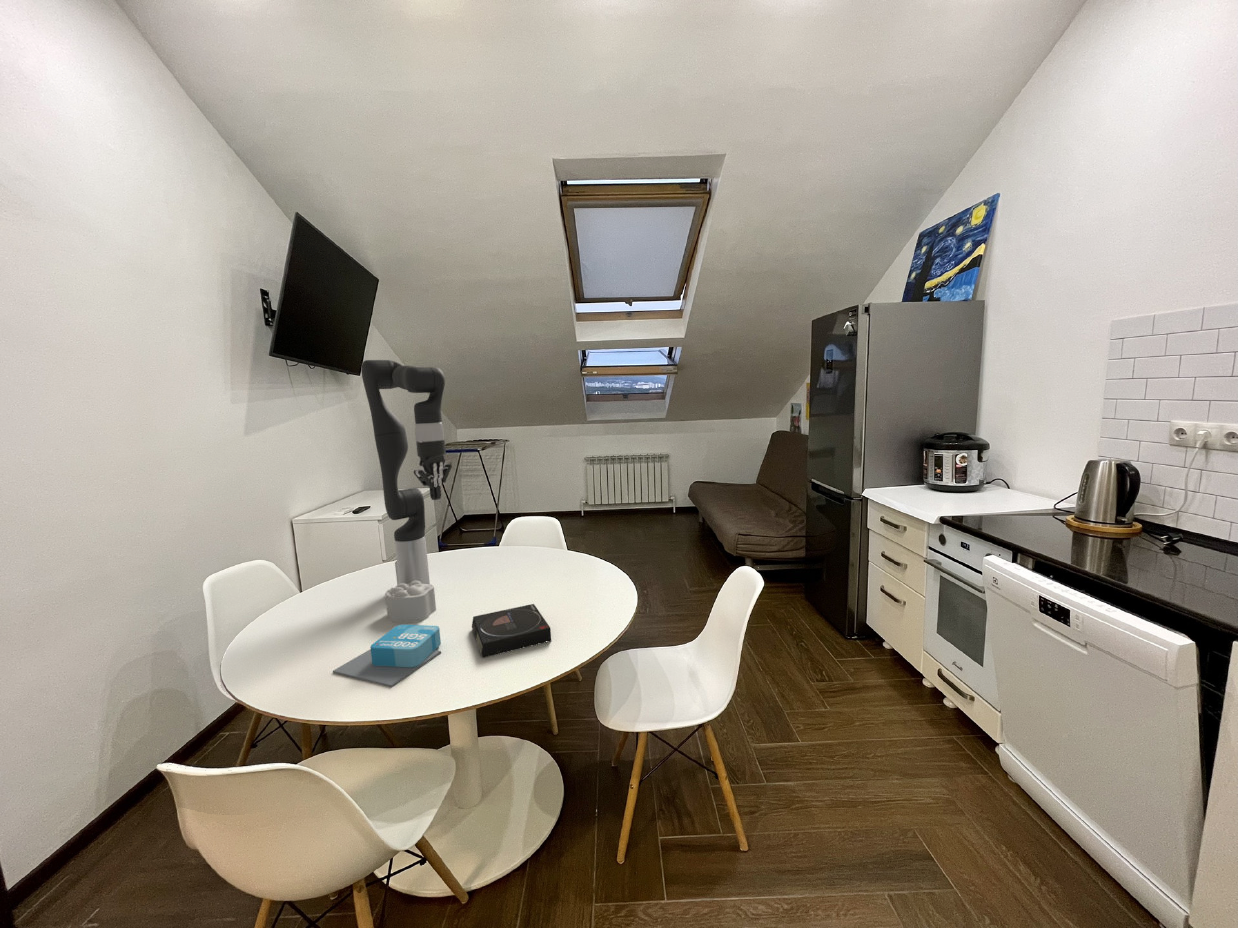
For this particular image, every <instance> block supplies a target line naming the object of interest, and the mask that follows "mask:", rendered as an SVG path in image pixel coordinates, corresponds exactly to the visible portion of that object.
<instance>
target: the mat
mask: <svg viewBox="0 0 1238 928" xmlns="http://www.w3.org/2000/svg"><path fill="white" fill-rule="evenodd" d="M441 654H442V651H441V650H437V649H436V650H435V651H433V652H432V653H431V654H430V655H429V656H428V657H427V658H426V659H425V660H424V661H423V662H422V663H421V664H420V665H419V666H416V667H412V668H408V667H389V666H374V665H373V664H372V656H371V648H369V649H368V650H366V651H365V652H362V653H361V654H360V655H358V656H356V657H354V658H352V659H351V660H349V661H348V662H346V663H343V664H342V665H340V666H339V667H337V668H335V669H334V670H333V671H332V673H333V674H337V675H340V676H344V677H345V676H346V677H349V678H353V679H355V680H361V681H365V682H369V683H373V684H377V685H381V686H385V687H389V688H393V687H395V686H396V685H397V684H399V683H400V682H401V681H403V680H405V679H406V678H407V677H409V676H410V675H412V674H413V673H415V672H416V671H417V670H420V668H422V667H423V666H425V665H427V664H428V663H429V662H430V661H432V660H434V658H436V657H438V656H439V655H441Z"/></svg>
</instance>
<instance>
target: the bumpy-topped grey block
mask: <svg viewBox="0 0 1238 928" xmlns="http://www.w3.org/2000/svg"><path fill="white" fill-rule="evenodd" d="M435 594H436V593H435V586H434V585H432V584H421V582H420V581H413V582H411V583H410V584H404V583H401V584H398V585H397V584H396V586H395V587H391V588H389V589H387V590H386V591H385V593H384V597H385V605H386V613H387V619H388V620H389V621H392V622H394V623H417V622H421V621H424V620H425V621H426V620H427V619H428V618H429V617H430V616H431V615H432V614H433V613H435V612H436V611H437V606H436V605H437V603H436V595H435Z"/></svg>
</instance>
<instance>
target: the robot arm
mask: <svg viewBox="0 0 1238 928" xmlns="http://www.w3.org/2000/svg"><path fill="white" fill-rule="evenodd" d="M360 368H361V379H362V382H363V387H364V389H365V395H366V397H367V402H368V405H369V410H370V411H369V412H370V416H371V422H372V427H373V434H374V436H373V437H374V441H375V445H376V450H377V455H378V460H379V465H380V472H381V480H382V491H383V500H384V507H385V511H386V514H387V516H388V518H389V519H390V520H392V521H399V520H403V519H407V518H408V519H407V521H406V522H405V523H404V524H403V525H401V526H399V527H398V528H397V529H395V530H394V532H393V533H394V534H393V537H394V547H395V555H396V561H394V566H395V567H394V568H395V575H396V576H395V578H396V586H397V585H398V584H401V583H404V584H410V583H411V582H413V581H420V582H421V584H430V583H431V580H430V571H429V561H428V560H429V559H428V552H427V551H428V550H427V543H426V531H425V530H426V519H425V518H426V515H425V509H426V508H425V500H424V495H423V492H422V491H421V490H420V489H419V488H418V487H411V488H405V489H399V488H398V480H399V479H398V478H399V473H400V470H401V468H402V465H403V462H404V461H405V459H406V456H407V454H408V451H409V450H408V449H409V444H408V438H407V433H406V428H405V426H404V424H403V423H402V422H401V420H400V419H399V418H398V416H396V415H395V414H394V413H393V411H391V410H390V408H389V407H388V406H387V404H386V403H385V401H384V400H383V396H382V394H381V391H380V390H392V389H396V388H400V389H401V390H405V391H406V390H407V392H408V393H412V394H423V393H425V394H426V393H428V394H429V396H428V397H427V399H426V400H422V401H418V402H416V403H414V406H413V412H414V414H413V415H414V423H415V429H414V432H415V442H416V454H417V457H419V464H418V465H419V466H418V468H417V469H414V470H413V474H414V476H415V477H416V478H417V480H418V481H419V482H420V483H421V485H422V486H423V487H428V488H429V497H430V500H431V501H438V500H441V499H442V498H441V497H442V489H441V488H442V487H441V486H442V484H443V483H444V484H445V483H446V482H447V479H448V476H449V474H450V471H451V469H452V464H450V463H447V462H446V459H445V455H446V454H447V451H446V441H445V440H446V439H445V431H444V426H443V419H442V417H443V416H442V400H443V395H444V391H445V386H446V377H445V374H444V372H443V371H442V370H441V369H440V368H439V367H435V366H433V367H432V366H430V367H429V366H428V367H427V366H425V367H424V366H413V365H402V364H401V363H399V362H397V361H394V360H390V359H367V360H363V362H362V363H361V367H360ZM430 585H431V584H430Z"/></svg>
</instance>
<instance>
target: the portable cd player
mask: <svg viewBox="0 0 1238 928" xmlns="http://www.w3.org/2000/svg"><path fill="white" fill-rule="evenodd" d="M471 630H472V632H473V635H474V638H475V641H476V644H477V646H478V649H479V652H480V655H481V657H482V658H489V657H493V656H495V655H500V653H501V654H504V653H503V652H505V653H508V652H507V651H509V652H512V651H511V650H513V651H517V650H521V649H524V648H523V647H525V648H529V647H532V646H531V645H533V646H537V645H539V644H538V643H541V644H545V643H547V642H546V641H549V642H552V632H551V631H552V630H551V626H550V625H549V624H548V622H547V621H546V620H545V618H544V616H543V615H542V613H541V612H540V611H539V609H538V607H537V606H536V605H535V604H534V603H531V604H527V605H521V606H518V607H512V608H507V609H504V610H497V611H493V612H489V613H483V614H479V615H475V616H473V617H472V621H471ZM544 642H545V643H544ZM536 644H537V645H536ZM520 648H521V649H520ZM516 649H517V650H516Z"/></svg>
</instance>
